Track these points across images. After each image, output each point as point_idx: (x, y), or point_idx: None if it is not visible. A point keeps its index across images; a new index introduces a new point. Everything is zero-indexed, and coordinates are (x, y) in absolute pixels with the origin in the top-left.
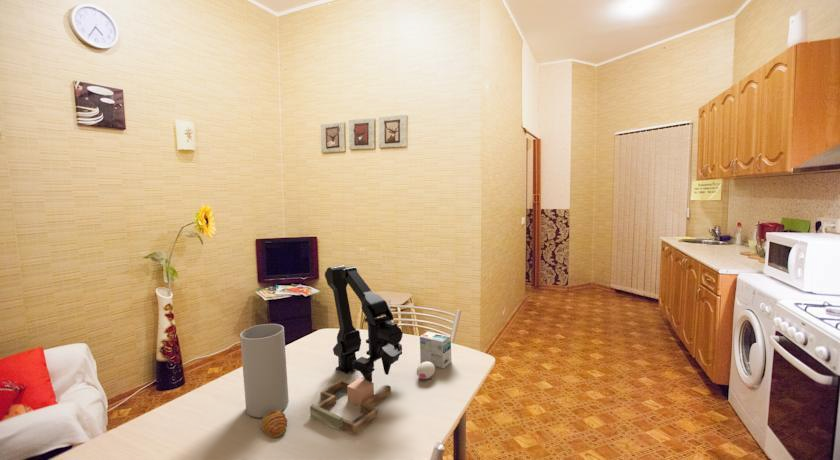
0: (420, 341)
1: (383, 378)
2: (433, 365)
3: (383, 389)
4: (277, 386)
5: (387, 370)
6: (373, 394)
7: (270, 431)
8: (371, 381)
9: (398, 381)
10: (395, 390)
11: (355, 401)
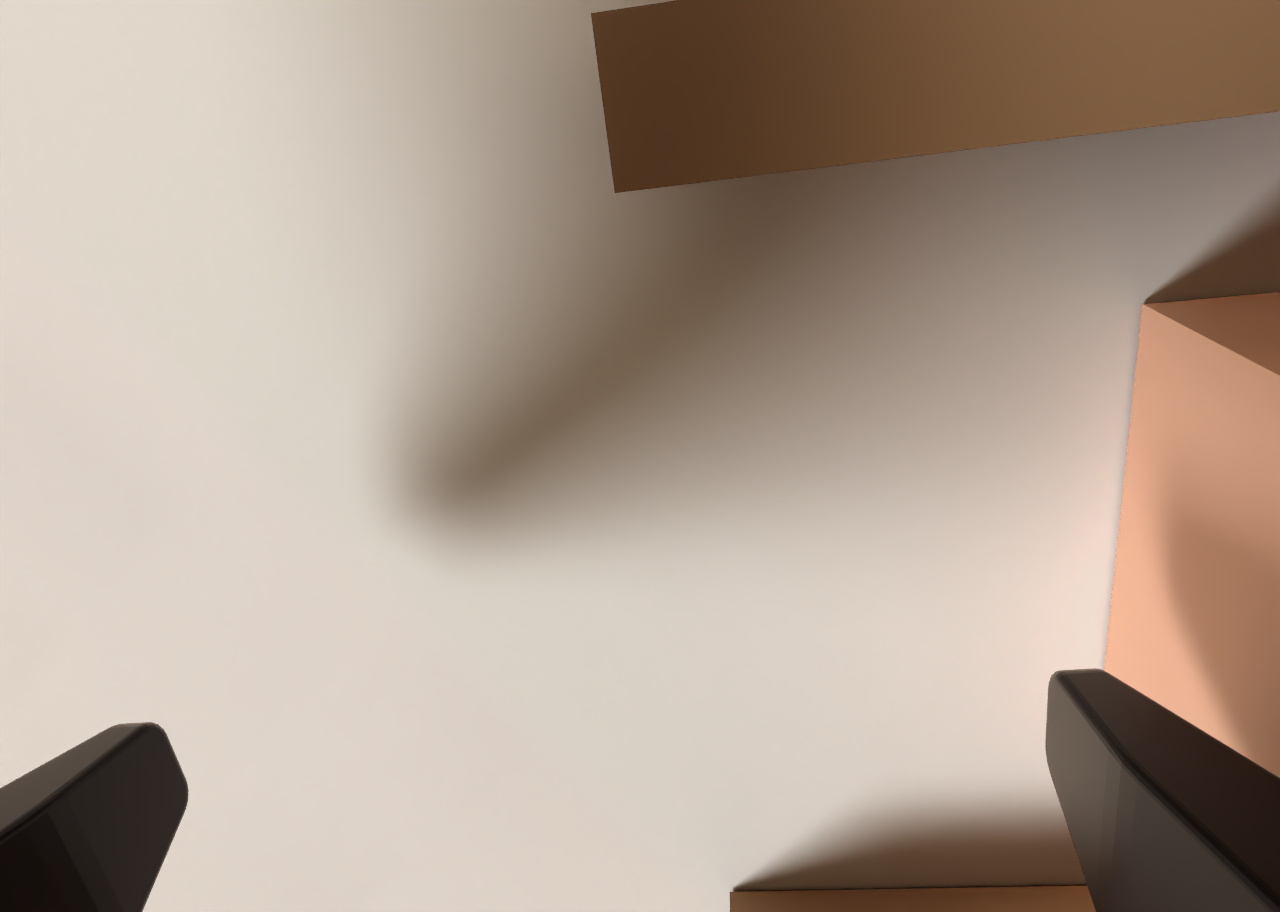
0: None
1: (261, 762)
2: None
3: (1009, 83)
4: None
5: (33, 847)
6: (1225, 335)
7: None
8: (1198, 781)
9: (24, 376)
10: (393, 59)
11: None
